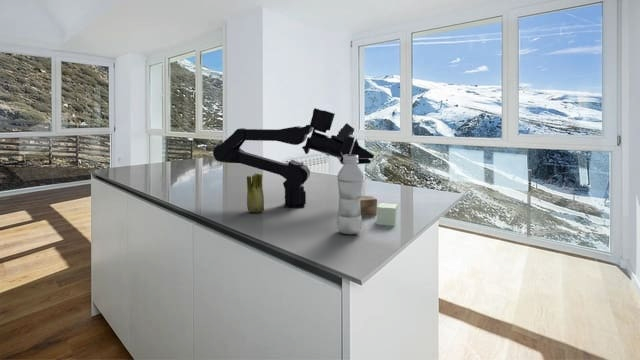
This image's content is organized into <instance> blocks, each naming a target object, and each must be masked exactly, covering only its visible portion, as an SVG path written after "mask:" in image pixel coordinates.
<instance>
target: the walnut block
mask: <svg viewBox="0 0 640 360" xmlns="http://www.w3.org/2000/svg"><path fill="white" fill-rule="evenodd" d="M360 199H361V201H360V208H361V217H365V216H366V217H369V216H370V215H371V216H377V206H378V199H377V198H375V197H374V196H372V195H361V198H360Z"/></svg>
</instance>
